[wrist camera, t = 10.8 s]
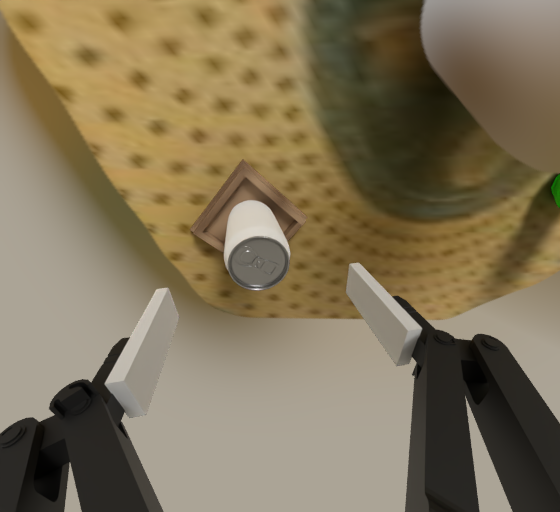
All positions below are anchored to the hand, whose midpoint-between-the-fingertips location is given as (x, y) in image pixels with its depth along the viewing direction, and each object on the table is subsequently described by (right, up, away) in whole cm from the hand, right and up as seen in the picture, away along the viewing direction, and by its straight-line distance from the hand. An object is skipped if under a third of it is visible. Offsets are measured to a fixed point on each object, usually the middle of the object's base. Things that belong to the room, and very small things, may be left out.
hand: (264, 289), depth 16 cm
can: (-3, +7, +14) cm, 16 cm away
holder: (-3, +7, +15) cm, 17 cm away
